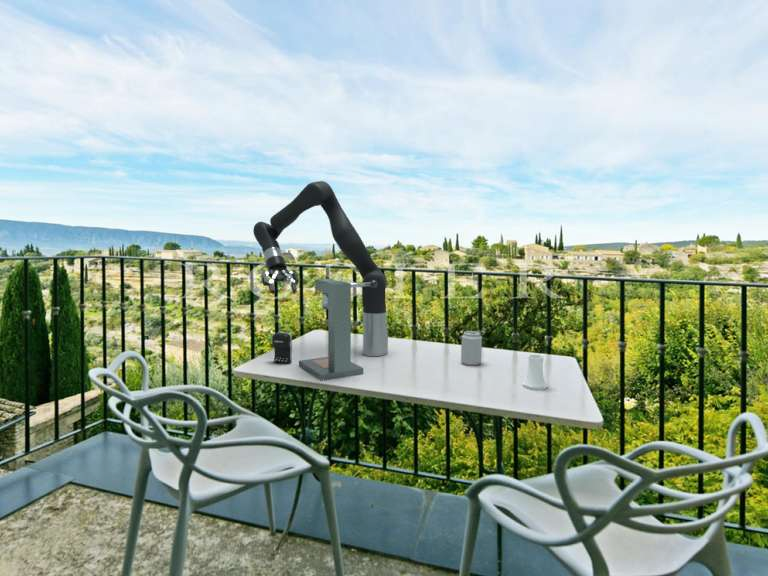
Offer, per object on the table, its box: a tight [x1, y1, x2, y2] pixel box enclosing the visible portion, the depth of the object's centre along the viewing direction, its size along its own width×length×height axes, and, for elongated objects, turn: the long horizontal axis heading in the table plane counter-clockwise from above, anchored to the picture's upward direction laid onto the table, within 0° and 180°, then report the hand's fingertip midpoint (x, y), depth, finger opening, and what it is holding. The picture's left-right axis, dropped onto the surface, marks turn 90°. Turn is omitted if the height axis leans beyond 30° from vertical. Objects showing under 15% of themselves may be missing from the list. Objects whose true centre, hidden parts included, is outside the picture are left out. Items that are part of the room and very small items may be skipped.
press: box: [298, 278, 378, 381], centre depth 176 cm, size 27×20×32 cm
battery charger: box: [271, 331, 293, 365], centre depth 183 cm, size 7×4×11 cm, turn 69°
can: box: [460, 330, 483, 367], centre depth 185 cm, size 8×8×12 cm
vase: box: [522, 354, 548, 391], centre depth 158 cm, size 8×8×10 cm
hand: (284, 292), depth 192 cm, fingers open, 8 cm apart
